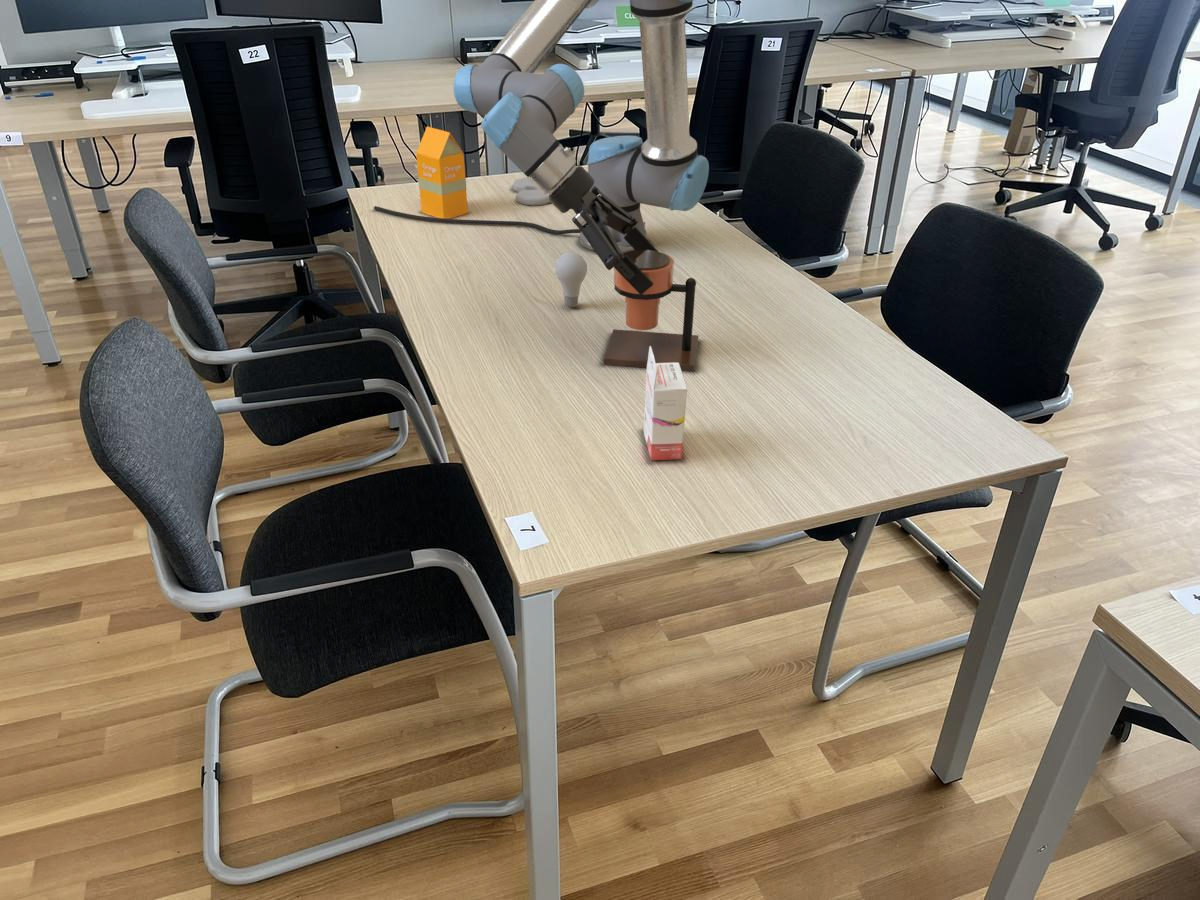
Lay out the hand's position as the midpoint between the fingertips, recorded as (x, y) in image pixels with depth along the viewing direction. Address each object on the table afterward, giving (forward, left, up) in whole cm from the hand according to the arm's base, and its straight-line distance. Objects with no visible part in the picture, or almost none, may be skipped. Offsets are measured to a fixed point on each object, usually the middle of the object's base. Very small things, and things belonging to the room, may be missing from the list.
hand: (651, 274), depth 155 cm
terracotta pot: (-1, -1, -9) cm, 9 cm away
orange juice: (-84, +30, -15) cm, 91 cm away
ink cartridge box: (+20, -24, -15) cm, 34 cm away
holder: (-69, +64, -15) cm, 96 cm away
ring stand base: (+1, 0, -15) cm, 15 cm away
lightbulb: (-23, +6, -15) cm, 28 cm away
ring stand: (+1, 0, -13) cm, 13 cm away
